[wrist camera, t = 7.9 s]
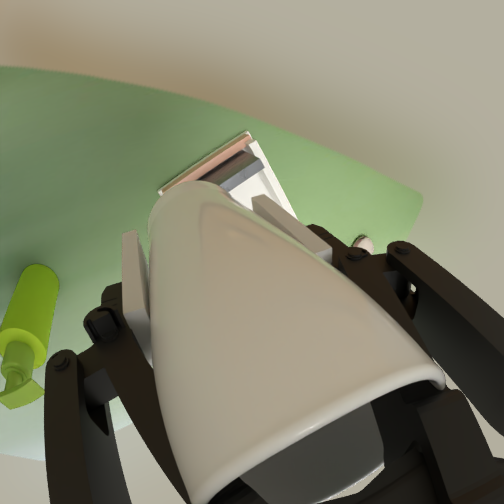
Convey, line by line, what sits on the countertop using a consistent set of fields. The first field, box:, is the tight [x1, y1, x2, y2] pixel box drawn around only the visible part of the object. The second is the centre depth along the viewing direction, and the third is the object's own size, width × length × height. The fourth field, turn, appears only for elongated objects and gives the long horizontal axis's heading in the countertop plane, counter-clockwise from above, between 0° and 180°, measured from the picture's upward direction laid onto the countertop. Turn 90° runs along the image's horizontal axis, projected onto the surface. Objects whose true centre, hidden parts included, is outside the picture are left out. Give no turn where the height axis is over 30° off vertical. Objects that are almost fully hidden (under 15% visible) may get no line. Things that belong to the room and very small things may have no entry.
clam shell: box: [353, 236, 374, 254], centre depth 53 cm, size 4×5×2 cm
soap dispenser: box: [0, 264, 59, 409], centre depth 28 cm, size 6×7×20 cm
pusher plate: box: [195, 150, 265, 192], centre depth 35 cm, size 1×9×6 cm, turn 119°
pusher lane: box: [157, 131, 298, 220], centre depth 41 cm, size 23×13×7 cm, turn 29°
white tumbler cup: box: [147, 180, 446, 504], centre depth 12 cm, size 7×7×15 cm
